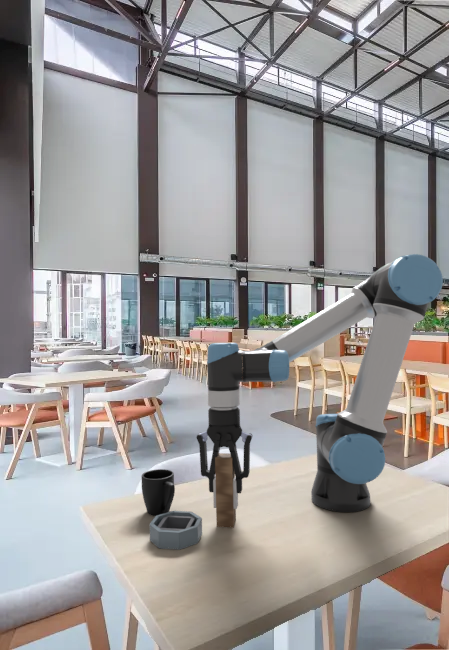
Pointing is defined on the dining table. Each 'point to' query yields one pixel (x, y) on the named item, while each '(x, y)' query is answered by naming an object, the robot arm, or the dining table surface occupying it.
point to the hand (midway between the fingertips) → (226, 505)
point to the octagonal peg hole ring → (176, 530)
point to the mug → (158, 491)
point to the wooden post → (224, 491)
